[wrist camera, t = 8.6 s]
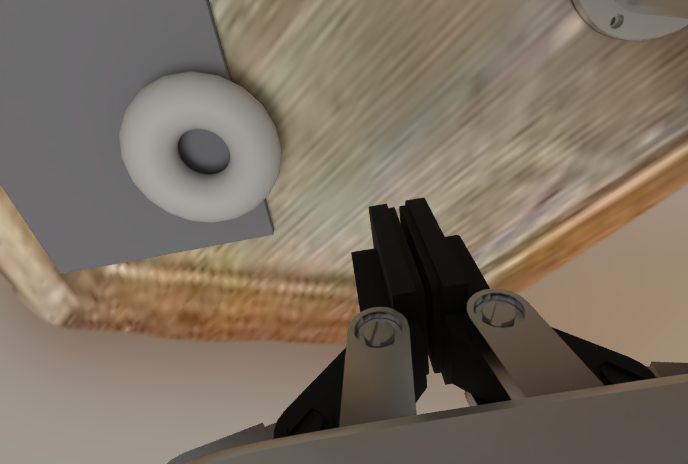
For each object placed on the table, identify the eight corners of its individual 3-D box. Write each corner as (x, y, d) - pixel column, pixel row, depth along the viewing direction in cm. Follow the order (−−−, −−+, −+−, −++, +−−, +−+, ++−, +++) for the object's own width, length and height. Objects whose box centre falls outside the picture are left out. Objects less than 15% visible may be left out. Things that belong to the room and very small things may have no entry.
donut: (245, 43, 25) (96, 97, 25) (240, 51, 22) (71, 112, 22) (301, 183, 30) (177, 225, 31) (304, 204, 27) (166, 250, 28)
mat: (198, -34, 23) (195, -35, 22) (273, 229, 33) (273, 234, 32) (-99, 18, 23) (-111, 19, 22) (65, 267, 32) (60, 274, 32)
